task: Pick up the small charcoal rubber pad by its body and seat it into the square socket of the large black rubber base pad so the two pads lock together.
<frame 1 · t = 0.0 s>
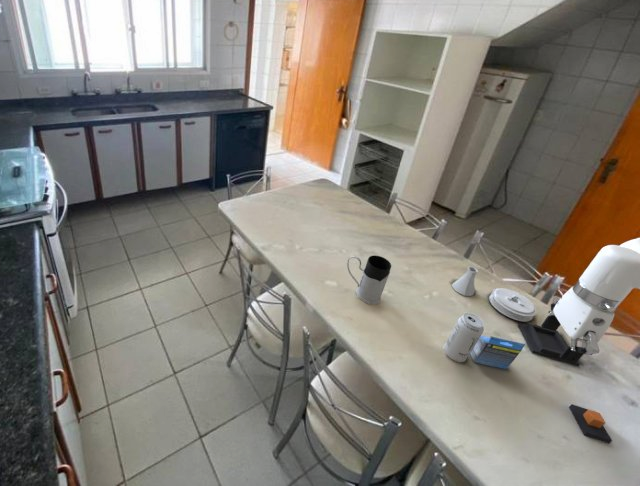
hand: (557, 343, 84), 17 cm above the table, tool pointing down, fingers open, 9 cm apart
flask: (462, 290, 124), on the table
energy drink can: (453, 355, 98), on the table
lid: (508, 309, 117), on the table
label tape box: (486, 363, 97), on the table
base pad: (546, 344, 104), on the table
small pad: (585, 427, 83), on the table
glass holder: (360, 292, 119), on the table
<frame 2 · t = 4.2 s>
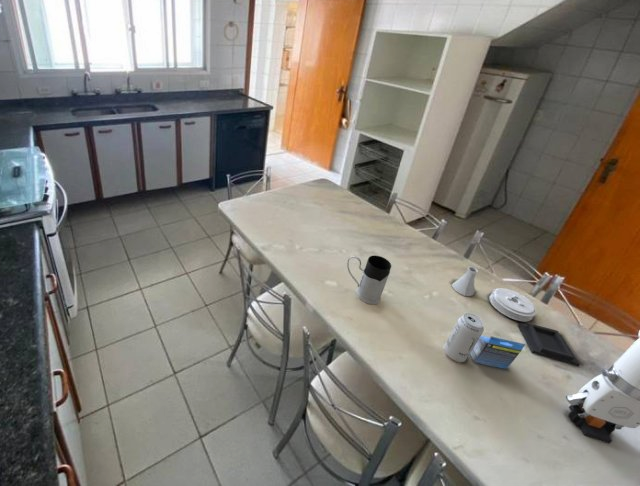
hand: (586, 426, 82), 0 cm above the table, tool pointing down, fingers closed on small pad, 5 cm apart
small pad: (585, 427, 83), on the table, touching gripper
everything else where it was.
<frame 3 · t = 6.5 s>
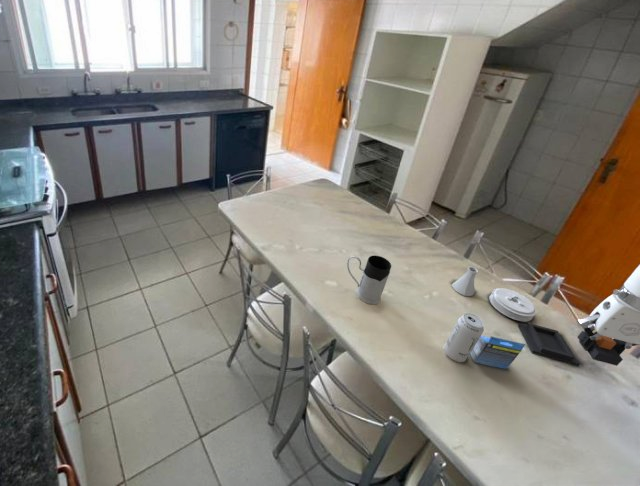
hand: (597, 349, 85), 15 cm above the table, tool pointing down, fingers closed on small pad, 5 cm apart
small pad: (596, 350, 85), point 15 cm above the table, touching gripper
everything else where it was.
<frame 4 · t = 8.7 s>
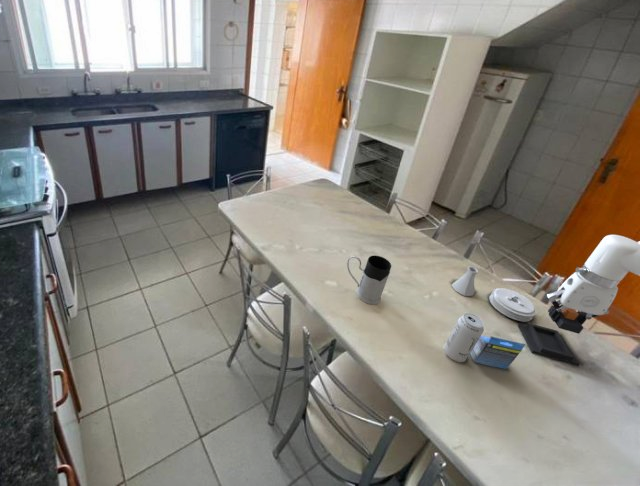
hand: (563, 320, 99), 11 cm above the table, tool pointing down, fingers closed on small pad, 5 cm apart
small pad: (562, 321, 99), point 10 cm above the table, touching gripper
everything else where it was.
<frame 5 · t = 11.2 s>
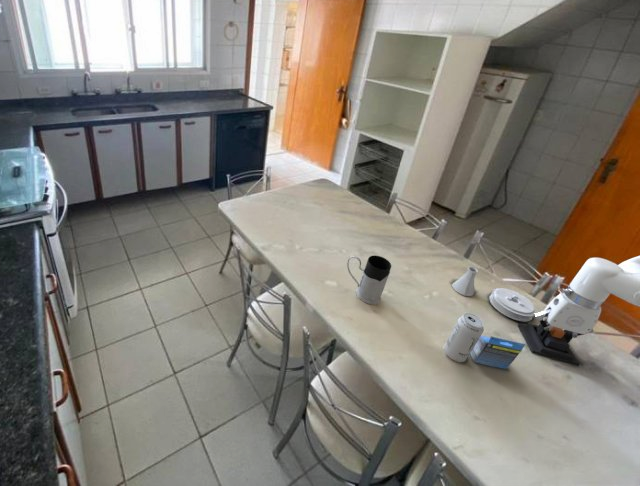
hand: (551, 338, 103), 3 cm above the table, tool pointing down, fingers closed on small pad, 4 cm apart
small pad: (550, 339, 103), point 2 cm above the table, touching gripper
everything else where it was.
when the fingers open (3 cm above the table, at t = 13.4 s): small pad drops 1 cm, resting on base pad.
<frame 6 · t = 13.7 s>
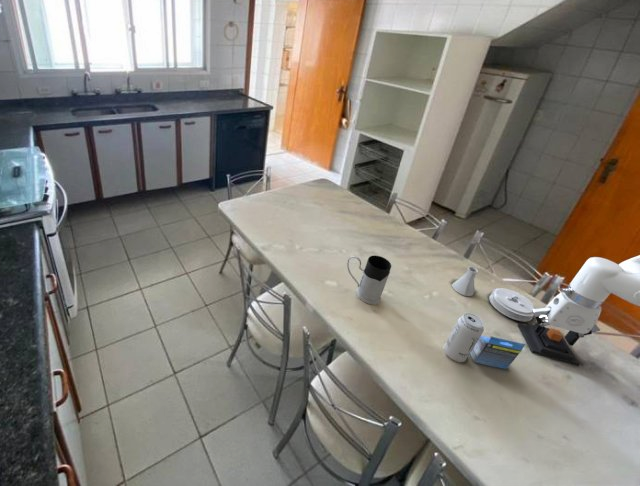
hand: (551, 337, 102), 4 cm above the table, tool pointing down, fingers open, 8 cm apart
base pad: (546, 344, 104), on the table, touching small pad
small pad: (548, 342, 104), point 1 cm above the table, touching base pad
everything else where it was.
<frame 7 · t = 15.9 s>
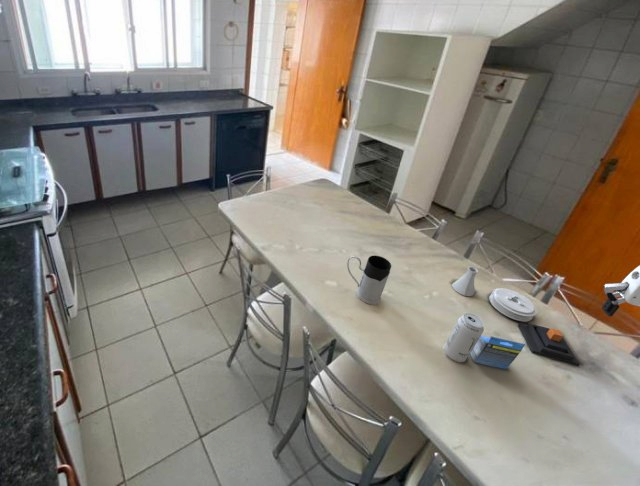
hand: (628, 317, 88), 21 cm above the table, tool pointing down, fingers open, 9 cm apart
nothing on the table moved.
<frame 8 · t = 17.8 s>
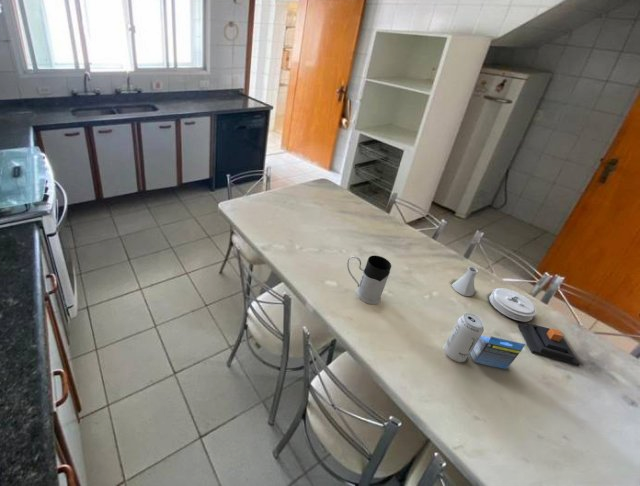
nothing on the table moved.
at the end: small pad 0.2 cm off-centre on the base pad, point 1.0 cm above the base pad's base; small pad tilted 0°; the gripper is holding nothing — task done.
